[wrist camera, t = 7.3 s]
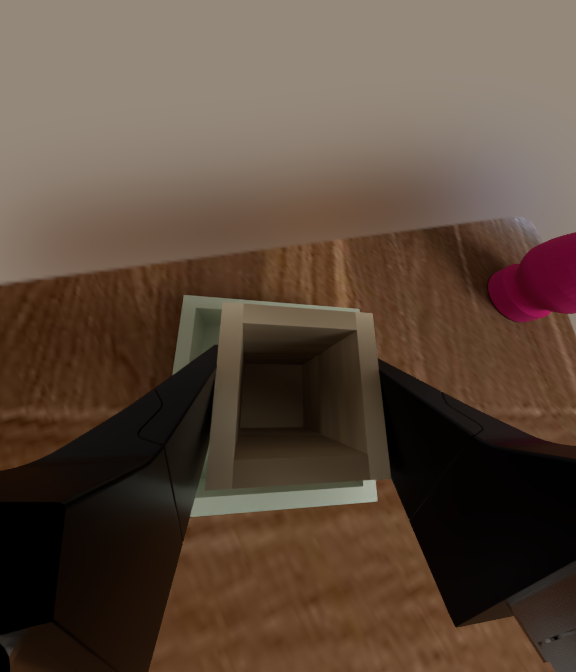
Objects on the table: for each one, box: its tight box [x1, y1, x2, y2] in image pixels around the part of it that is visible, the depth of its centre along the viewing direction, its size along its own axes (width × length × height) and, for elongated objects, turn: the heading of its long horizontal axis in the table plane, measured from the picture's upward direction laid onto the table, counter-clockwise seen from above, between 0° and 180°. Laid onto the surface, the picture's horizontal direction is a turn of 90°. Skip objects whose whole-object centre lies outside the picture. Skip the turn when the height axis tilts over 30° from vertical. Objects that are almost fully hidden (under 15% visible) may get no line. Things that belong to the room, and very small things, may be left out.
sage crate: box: [172, 295, 377, 517], centre depth 15 cm, size 12×12×4 cm
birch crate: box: [205, 302, 391, 491], centre depth 11 cm, size 6×6×9 cm
